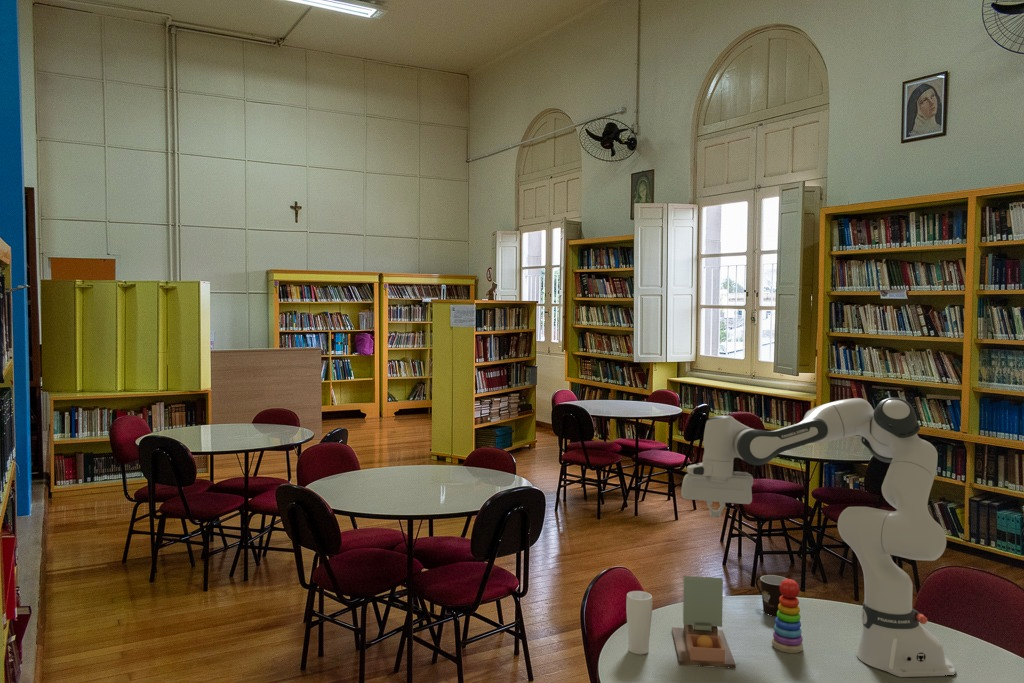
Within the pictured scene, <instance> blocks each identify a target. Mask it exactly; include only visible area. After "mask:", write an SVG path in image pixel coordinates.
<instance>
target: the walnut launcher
mask: <svg viewBox="0 0 1024 683" xmlns="http://www.w3.org/2000/svg"><path fill="white" fill-rule="evenodd" d="M672 633H673V634H672ZM671 634H672V637H673V642H675V643H674V647H675V651H676V655H677V656H676V657H677V661H678V664H679V666H689V665H698V666H697V667H704V666H714V667H713V668H719V667H727V668H726V669H734V668H736V669H737V664H736V661H735V659H734V657H733V653H732V651H731V648H730V647H729V644H728V641H727V638H726V635H725V633H724V630H723V629H718V627H717V626H711V631H710V630H694V627H693V625H684V624H683V627H675V626H674V627H673V626H672V627H671ZM687 634H698V635H714V636H720V638H721V640H722V643H723V646H724V649H725V664H720V663H705V662H690V659H689V655H688V651H687V647H686V644H687ZM699 665H700V666H699ZM728 667H729V668H728Z"/></svg>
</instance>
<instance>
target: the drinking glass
mask: <svg viewBox="0 0 1024 683" xmlns="http://www.w3.org/2000/svg"><path fill="white" fill-rule="evenodd" d="M625 605H626V607H625V608H626V609H625V610H626V611H625V612H626V623H627V624H626V626H627V638H628V640H627V641H628V642H627V643H628V647H627V648H628V652H630V653H631V654H633V655H638V656H639V655H646V654H647V653H648V652H649V650H650V649H649V648H650V636H651V626H652V616H653V596H652V594H651V593H649V592H647V591H644V590H643V591H642V590H632V591H629V592H627V593H626V604H625Z"/></svg>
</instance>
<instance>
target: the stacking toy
mask: <svg viewBox="0 0 1024 683" xmlns="http://www.w3.org/2000/svg"><path fill="white" fill-rule="evenodd" d="M800 590H801V589H800V586H799V584H798V582H796V580H794V579H791V578H787V579H785V580H783V581H782V582H781V584H780V592H781V594H782V596H780V598H779V602H780V604H779V605H778V609H779V610H778V611H777V617H775V619H774V623H775V624H774V626H773V629H774V631H773V633H772V640H771V645H772V646H773V647H774V648H775V649H776V650H778V651H779V652H783V653H786V654H797V653H800V652H802V650H803V649H804V644H803V640H804V638H803V635H802V632H803V631H802V628H801V626H802V623H801V621H800V620H801V613H800V611H801V608H800V606H799V604H800V601H799V598H797V597H798V596H799V593H800Z"/></svg>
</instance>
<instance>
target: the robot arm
mask: <svg viewBox="0 0 1024 683" xmlns="http://www.w3.org/2000/svg"><path fill="white" fill-rule="evenodd" d="M917 418H918V417H917V415H916V411H915V408H914V406H912V404H911V403H910V402H908V401H907V400H905V399H903V398H900V397H888V398H885V399H883V400H881V401H880V402H879V403H878V404H876V407H875V408H873V406H872V404H870V402H868V400H866V399H865V398H862V397H861V398H860V397H855V398H854V397H853V398H846V399H839V400H834V401H830V402H827V403H824V404H820V405H818V406H815V407H813V408H811V409H809V410H807V411H806V412H805V414H804V416H803V419H802V420H801V421H800V422H798V423H795V424H792V425H788V426H785V427H781V428H779V429H775V430H763V429H755V428H752V427H749V426H748V425H745V424H743V423H741V422H740V421H739V420H737V419H735V418H734V416H732V415H727V414H726V415H716V416H715V415H714V416H711V417H710V418H708V419H707V420H706V422H705V427H704V431H703V448H704V449H703V450H704V452H703V455H702V462H698V463H694V464H689V465H688V466H687V467H686V472H687V473H686V474H685V475H684V476H683V480H682V484H681V490H680V491H681V492H680V494H681V497H682V498H683V499H684V500H692V501H694V500H695V501H704V502H706V506H707V508H708V509H709V516H710V517H711V518H722V515H721V514H722V512H723V510H724V508H725V507H726V504H730V503H731V504H739V505H740V504H742V505H750V504H751V503H752V502H753V493H752V492H753V490H752V487H753V485H754V477H753V475H752V474H750V473H749V472H748V471H735V470H734V460H735V458H738V459H741V460H743V461H744V462H745V463H747V464H749V465H752V466H764V465H765V464H768V463H769V462H771V461H772V460H773V459H774V458H775V457H777V456H778V455H780V454H781V453H783V452H787V451H789V450H793V449H796V448H799V447H803V446H806V445H809V444H819V443H821V444H822V443H830V442H834V441H839V440H842V439H845V438H850V437H852V436H861V443H862V445H863V446H865V447H866V448H867V449H868V450H869V452H870V454H871V455H872V456H873V457H874V458H875V459H876V460H879V461H880V462H883V463H886V464H889V467H888V468H887V471H886V475H885V476H884V479H883V482H882V484H881V494H882V496H883V498H884V499H885V501H886V502H887V503H888V504H889V505H890V506H892V507H893V508H894V509H895V511H893V510H886V509H881V508H875V507H869V506H847V507H846V508H845V509H843V510H842V512H840V514H839V516H838V520H837V530H838V534H839V535H840V536H839V537H841V538H840V539H842V540H843V542H844V543H846V544H847V545H848V546H849V547H850V549H851V550H852V551H853V552H854V553H855V555H856V557H857V559H858V561H859V563H860V566H861V569H862V572H863V582H864V583H863V584H864V601H862V609H861V622H862V630H861V638H860V640H859V644H858V648H857V651H856V657H857V658H858V659H859V660H860V661H861V662H862V663H864V664H866V665H868V666H870V667H872V668H875V669H878V670H882V671H884V672H888V673H889V674H892V675H893V676H896V677H900V678H911V677H914V678H916V677H948V676H947V675H953V674H955V675H956V668H955V665H954V664H953V663H952V661H951V660H950V659H949V658H948V657H946V656H945V654H946V653H945V651H944V647H943V645H942V644H941V641H939V639H938V638H937V637H936V636H935V635H934V634H932V633H931V632H930V631H929V630H927V629H926V628H925V627H924V626H922V625H926V624H927V623H928V621H929V620H928V618H927V617H926V616H925V615H924V614H923V613H920V612H919V611H918V610H916V609H915V608H913V591H914V590H913V586H914V584H913V581H912V578H911V577H910V576H909V574H908V573H907V572H906V571H904V570H903V569H902V568H901V567H899V565H897V564H896V563H895V562H894V560H893V558H892V556H895V557H900V558H904V559H909V560H912V561H913V560H914V561H930V562H933V561H936V560H938V559H939V558H941V556H942V555H943V554H944V553H945V550H946V548H947V536H946V532H945V530H944V529H943V527H942V526H941V524H939V522H937V521H936V520H935V519H934V518H933V517H932V515H931V514H930V511H929V508H928V506H929V505H928V503H929V497H930V493H931V490H932V487H933V483H934V481H935V477H936V473H937V470H938V469H937V468H938V457H939V455H938V454H939V453H938V451H937V449H936V447H935V446H934V445H933V444H932V443H931V442H929V441H927V440H925V439H922V438H921V437H920V436H919V435H918V433H919V432H920V430H921V426H920V424H919V423H918V419H917ZM713 502H715V503H718V504H719V508H718V509H717V510H716V509H713V508H712V506H713ZM945 675H946V676H945Z"/></svg>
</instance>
